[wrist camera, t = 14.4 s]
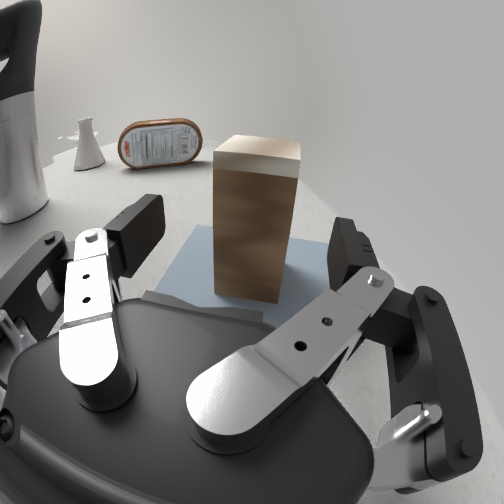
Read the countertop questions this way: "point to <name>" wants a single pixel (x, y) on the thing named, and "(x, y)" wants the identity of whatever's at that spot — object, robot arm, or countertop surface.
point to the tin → (159, 143)
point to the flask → (87, 147)
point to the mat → (202, 295)
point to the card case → (253, 214)
